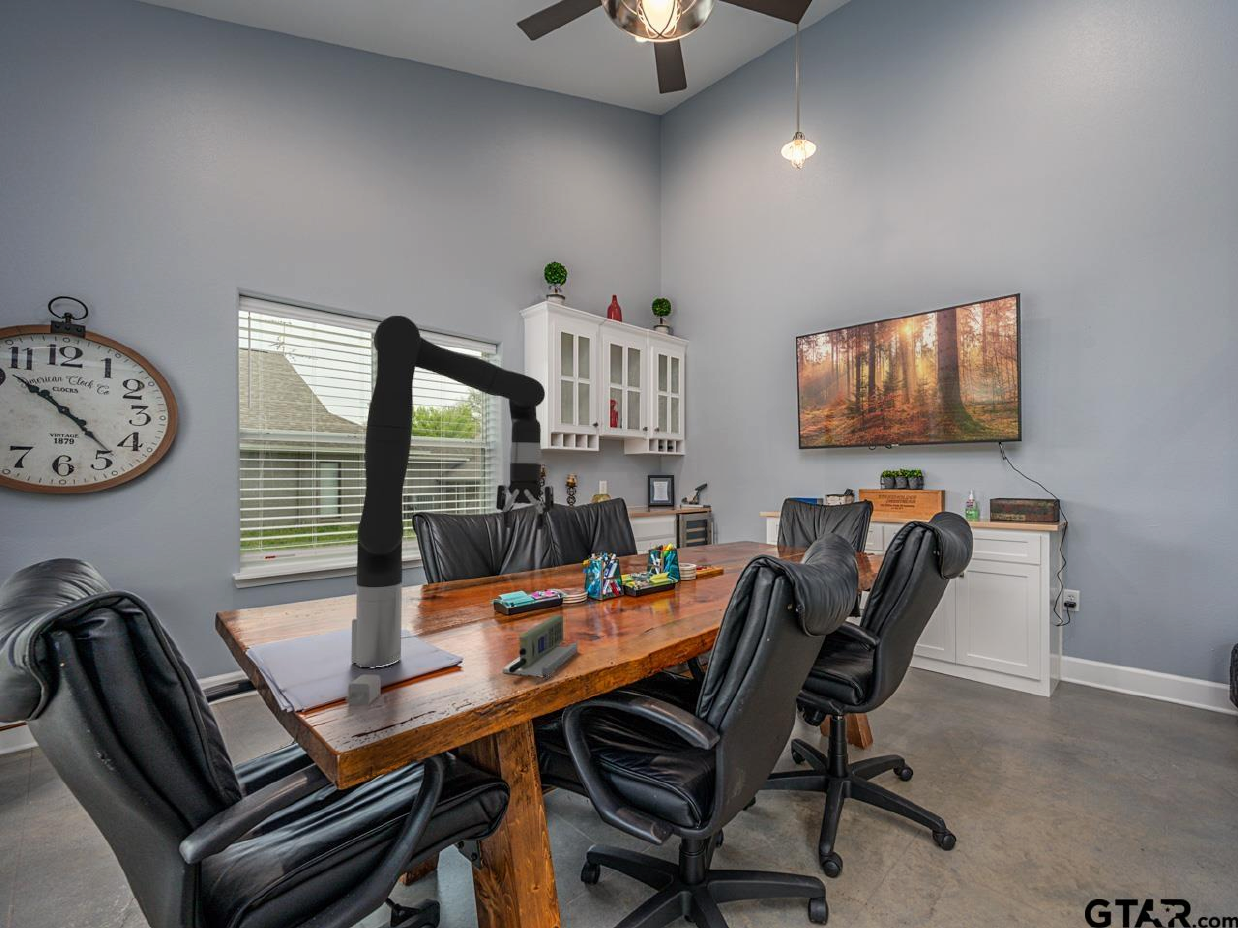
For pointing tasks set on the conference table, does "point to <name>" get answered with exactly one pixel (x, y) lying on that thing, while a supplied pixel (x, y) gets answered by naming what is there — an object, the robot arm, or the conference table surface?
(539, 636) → the handheld radio
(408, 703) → the conference table surface
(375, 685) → the usb wall charger
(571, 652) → the charging dock
